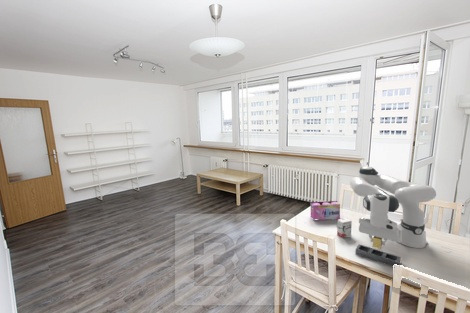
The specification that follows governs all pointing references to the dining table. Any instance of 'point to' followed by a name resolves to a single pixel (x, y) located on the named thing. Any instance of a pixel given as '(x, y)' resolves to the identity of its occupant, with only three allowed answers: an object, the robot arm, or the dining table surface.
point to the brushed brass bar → (377, 242)
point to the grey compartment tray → (378, 255)
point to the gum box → (325, 210)
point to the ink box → (344, 227)
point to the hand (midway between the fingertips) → (377, 243)
